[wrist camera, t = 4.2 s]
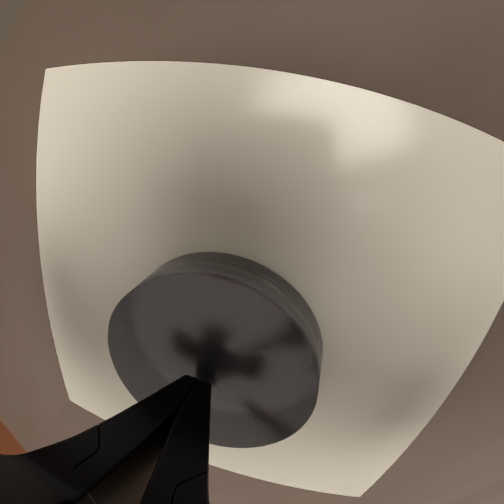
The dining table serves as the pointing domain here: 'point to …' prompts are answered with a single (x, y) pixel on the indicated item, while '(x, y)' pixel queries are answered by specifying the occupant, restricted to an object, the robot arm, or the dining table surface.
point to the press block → (276, 237)
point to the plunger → (223, 344)
